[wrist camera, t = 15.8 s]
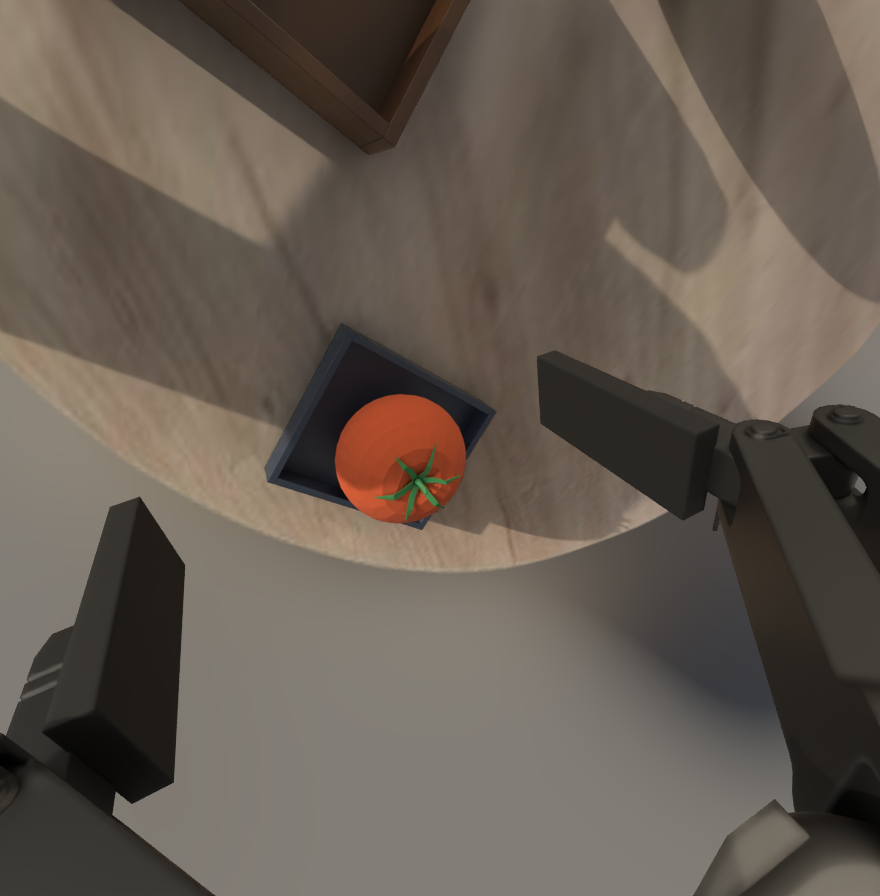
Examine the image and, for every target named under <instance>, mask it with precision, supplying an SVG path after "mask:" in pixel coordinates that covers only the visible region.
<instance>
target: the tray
mask: <svg viewBox="0 0 880 896" xmlns="http://www.w3.org/2000/svg"><path fill="white" fill-rule="evenodd" d="M397 394H404V395H416V396H419V397H423V398H426V399H428V400H430V401H432V402H433V403H435V404H437V405H439V406H440V407H442V408H443V409H444V410H445V411H446V412H447V413H448V414H449V415H450V416H451V417H452V419H453V420H454V421H455V423H456V424H457V426H458V427H459V429H460V432H461V434H462V437H463V440H464V444H465V451H466V460H467V458H468V456H469V455H470V453H471V452H472V450H473V449H474V447H475V445H476V444H477V442H478V441H479V439H480V437H481V436H482V434H483V433H484V431H485V430H486V428H487V426H488V425H489V423H490V422H491V420H492V418H493V417H494V415H495V414H496V411H495V410H494V409H492V408H491V407H490V406H488V405H487V404H486V403H484V402H483V401H481V400H479V399H477V398H475V397H474V396H472V395H470V394H468V393H466V392H465V391H463V390H461V389H459V388H457V387H456V386H454V385H452V384H450V383H448V382H447V381H445V380H443V379H441V378H439V377H438V376H436V375H434V374H432V373H430V372H429V371H427V370H425V369H423V368H421V367H420V366H418V365H416V364H414V363H412V362H411V361H409V360H407V359H405V358H404V357H402V356H400V355H398V354H396V353H395V352H393V351H391V350H389V349H387V348H386V347H384V346H382V345H380V344H378V343H377V342H375V341H373V340H371V339H369V338H368V337H366V336H364V335H362V334H360V333H359V332H357V331H355V330H353V329H351V328H350V327H348V326H346V325H344V324H342V323H341V325H340V327H339V329H338V331H337V333H336V334H335V336H334V338H333V340H332V342H331V344H330V346H329V348H328V350H327V351H326V353H325V355H324V357H323V359H322V361H321V363H320V365H319V366H318V368H317V370H316V372H315V374H314V376H313V378H312V380H311V381H310V383H309V385H308V387H307V389H306V391H305V393H304V395H303V396H302V398H301V400H300V402H299V404H298V406H297V408H296V410H295V412H294V413H293V415H292V417H291V419H290V421H289V423H288V425H287V427H286V428H285V430H284V432H283V434H282V436H281V438H280V440H279V442H278V443H277V445H276V447H275V449H274V451H273V453H272V455H271V457H270V458H269V460H268V462H267V464H266V466H265V472H266V477H267V482H269V483H272V484H276V485H279V486H282V487H285V488H288V489H292V490H295V491H298V492H301V493H305V494H308V495H311V496H314V497H317V498H321V499H324V500H327V501H330V502H333V503H337V504H340V505H343V506H346V507H350V508H353V509H356V510H358V509H357V508H356V507H355V506H354V505H353V504H352V503H351V502H350V501H349V499H348V498H347V496H346V495H345V493H344V492H343V490H342V488H341V486H340V483H339V480H338V477H337V473H336V466H335V455H336V447H337V444H338V441H339V438H340V435H341V432H342V431H343V429H344V427H345V425H346V424H347V422H348V421H349V420H350V419H351V417H352V416H353V415H354V414H355V413H356V412H357V411H359V410H360V409H361V408H362V407H364V406H365V405H366V404H368V403H370V402H372V401H374V400H376V399H379V398H382V397H385V396H389V395H397ZM359 511H360V510H359ZM430 517H431V515H430V516H428V517H426V518H423V519H421V520H418V521H414V522H410V523H401V524H404V525H407V526H411V527H414V528H417V529H420V530H422V529H423V528H424V526H425V525H426V523H427V521H428V520H429V518H430Z"/></svg>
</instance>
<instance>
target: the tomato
mask: <svg viewBox="0 0 880 896" xmlns="http://www.w3.org/2000/svg"><path fill="white" fill-rule="evenodd" d="M465 462H466V451H465V444H464V440H463V437H462V434H461V432H460V429H459V427H458V426H457V424H456V423H455V421H454V420H453V419H452V417H451V416H450V415H449V414H448V413H447V412H446V411H445V410H444V409H443V408H442V407H440V406H439V405H437V404H435V403H433V402H432V401H430V400H428V399H426V398H423V397H419V396H416V395H404V394H397V395H389V396H385V397H382V398H379V399H376V400H374V401H372V402H370V403H368V404H366V405H365V406H364V407H362V408H361V409H360V410H359V411H357V412H356V413H355V414H354V415H353V416H352V417H351V419H350V420H349V421H348V422H347V424H346V425H345V427H344V429H343V431H342V432H341V435H340V438H339V441H338V444H337V447H336V455H335V466H336V473H337V477H338V480H339V483H340V486H341V488H342V490H343V492H344V493H345V495H346V496H347V498H348V499H349V501H350V502H351V503H352V504H353V505H354V506H355V507H356V508H357V509H358V510H360V511H362V512H363V513H365V514H366V515H368V516H370V517H372V518H374V519H377V520H380V521H383V522H390V523H410V522H414V521H418V520H421V519H423V518H426V517H428V516H430V515H432V514H433V513H435V512H437V511H438V510H439V509H440V508H444V507H443V506H444V505H445V504H446V503H447V502H448V501H449V500H450V499H451V498H452V497H453V495H454V493H455V492H456V490H457V489H458V487H459V485H460V483H461V480H462V478H463V474H464V470H465Z"/></svg>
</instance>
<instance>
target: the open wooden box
mask: <svg viewBox="0 0 880 896" xmlns="http://www.w3.org/2000/svg"><path fill="white" fill-rule="evenodd" d="M179 1H180V2H181V3H183V4H184V5H185V6H186V7H188V8H189V9H190V10H191V11H193V12H194V13H195V14H196V15H197V16H199V17H200V18H201V19H202V20H204V21H205V22H206V23H207V24H209V25H210V26H211V27H212V28H213V29H215V30H216V31H217V32H218V33H220V34H221V35H222V36H223V37H224V38H226V39H227V40H228V41H229V42H231V43H232V44H233V45H234V46H236V47H237V48H238V49H239V50H240V51H242V52H243V53H244V54H245V55H247V56H248V57H249V58H250V59H252V60H253V61H254V62H255V63H256V64H258V65H259V66H260V67H261V68H263V69H264V70H265V71H266V72H267V73H269V74H270V75H271V76H272V77H274V78H275V79H276V80H277V81H279V82H280V83H281V84H282V85H283V86H285V87H286V88H287V89H288V90H290V91H291V92H292V93H293V94H294V95H296V96H297V97H298V98H299V99H301V100H302V101H303V102H304V103H306V104H307V105H308V106H309V107H310V108H312V109H313V110H314V111H315V112H317V113H318V114H319V115H320V116H322V117H323V118H324V119H325V120H326V121H328V122H329V123H330V124H331V125H333V126H334V127H335V128H336V129H337V130H339V131H340V132H341V133H342V134H344V135H345V136H346V137H347V138H349V139H350V140H351V141H352V142H353V143H355V144H356V145H357V146H358V147H360V148H361V149H362V150H363V151H365V152H366V153H367V154H368V155H371V154H374V153H377V152H380V151H384V150H387V149H390V148H393V147H395V145H396V143H397V141H398V140H399V138H400V136H401V134H402V132H403V130H404V128H405V126H406V124H407V122H408V120H409V118H410V116H411V114H412V112H413V110H414V108H415V106H416V105H417V103H418V101H419V99H420V97H421V95H422V93H423V91H424V89H425V87H426V85H427V83H428V81H429V79H430V77H431V75H432V73H433V72H434V70H435V68H436V66H437V64H438V62H439V60H440V58H441V56H442V54H443V52H444V50H445V48H446V46H447V44H448V42H449V40H450V38H451V37H452V35H453V33H454V31H455V29H456V27H457V25H458V23H459V21H460V19H461V17H462V15H463V13H464V11H465V9H466V7H467V5H468V3H469V2H470V0H179Z"/></svg>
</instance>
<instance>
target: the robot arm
mask: <svg viewBox="0 0 880 896" xmlns="http://www.w3.org/2000/svg"><path fill="white" fill-rule="evenodd" d="M537 368H538V386H539V404H540V423H541V424H542V425H544V426H545V427H547V428H548V429H549V430H551V431H552V432H554V433H555V434H557V435H558V436H560V437H561V438H563V439H564V440H566V441H567V442H568V443H570V444H571V445H573V446H574V447H576V448H577V449H579V450H580V451H582V452H583V453H585V454H586V455H588V456H589V457H590V458H592V459H593V460H595V461H596V462H598V463H599V464H601V465H602V466H604V467H605V468H607V469H608V470H609V471H611V472H612V473H614V474H615V475H617V476H618V477H620V478H621V479H623V480H624V481H626V482H627V483H629V484H630V485H631V486H633V487H634V488H636V489H637V490H639V491H640V492H642V493H643V494H645V495H646V496H648V497H649V498H650V499H652V500H653V501H655V502H656V503H658V504H659V505H661V506H662V507H664V508H665V509H667V510H668V511H670V512H671V513H672V514H674V515H676V516H677V517H678V518H680V519H681V520H685V519H687V518H689V517H690V516H693V515H694V514H696V513H698V512H700V511H702V510H704V506H705V501H706V496H707V492H709V493H711V494H712V495H714V496H716V497H717V498H718V503H717V507H716V512H715V517H714V522H713V531H717V529H718V525H719V524H720V523H721V525H722V528H723V532H724V535H725V539H726V542H727V545H728V549H729V552H730V555H731V559H732V562H733V566H734V569H735V572H736V576H737V579H738V582H739V586H740V589H741V592H742V596H743V599H744V603H745V606H746V609H747V613H748V616H749V620H750V623H751V626H752V630H753V633H754V636H755V640H756V643H757V647H758V650H759V653H760V657H761V660H762V663H763V666H764V670H765V673H766V677H767V680H768V683H769V687H770V690H771V694H772V697H773V701H774V704H775V707H776V710H777V714H778V717H779V721H780V724H781V728H782V731H783V734H784V738H785V741H786V744H787V748H788V751H789V754H790V759H791V763H792V771H793V776H792V777H793V778H792V795H793V804H794V809H795V812H793V813H787V812H786V811H785V810H784V808H783V807H782V806H781V805H780V804H779V803H778V802H777V801H776V800H775V799H774V800H773V801H772V802H771V803H769V804H768V805H767V806H765V807H764V808H763V809H761V810H760V811H759V812H757V814H755V815H754V816H752V817H751V818H750V819H749V820H747V821H746V822H745V823H743V824H742V825H741V826H739V827H738V828H737V829H736V830H734V831H733V832H732V833H730V834H729V835H728V836H727V837H726V839H725V841H724V842H723V844H722V846H721V848H720V849H719V851H718V853H717V855H716V856H715V858H714V860H713V862H712V864H711V865H710V867H709V869H708V870H707V872H706V874H705V876H704V878H703V880H702V881H701V883H700V885H699V886H698V888H697V890H696V892H695V893H694V895H693V896H880V418H879V417H878V416H876V415H875V414H873V413H870V412H868V411H866V410H864V409H860V408H857V407H855V406H850V405H847V406H845V405H827V406H823V407H819V408H818V409H816V410H815V411H814V412H813V416H812V419H811V422H810V425H808V426H802V427H797V428H792V429H789V428H787V427H785V426H783V425H781V424H779V423H775V422H771V421H767V420H746V421H743V422H740V423H737V424H735V423H733V422H730V421H728V420H726V419H723V418H721V417H719V416H716V415H714V414H712V413H709V412H707V411H705V410H703V409H700V408H698V407H695V408H694V407H693V405H691V404H689V403H686V402H682V401H681V400H679V399H677V398H675V397H672V396H670V395H668V394H664V393H659V392H654V391H649V390H648V391H645V390H643V389H640V388H638V387H636V386H634V385H631V384H629V383H627V382H625V381H622V380H620V379H618V378H616V377H614V376H611V375H609V374H607V373H605V372H602V371H600V370H598V369H596V368H593V367H591V366H589V365H587V364H584V363H582V362H580V361H578V360H575V359H573V358H571V357H569V356H566V355H564V354H562V353H560V352H558V351H555V350H554V351H552V352H549V353H546V354H543V355H540V356H537ZM858 476H859V477H861V478H862V480H863V481H864V483H865V485H866V487H867V488H866V490H865V492H864V493H863V494H862V493H860V492H859V491H858V490H857V489H856V488H855V487H854V486H855V484H856V481H857V479H858ZM184 578H185V564H184V563H183V561H182V560H181V558H180V557H179V555H178V554H177V552H176V551H175V549H174V548H173V546H172V545H171V543H170V542H169V540H168V539H167V537H166V535H165V534H164V532H163V531H162V530H161V528H160V526H159V525H158V523H157V522H156V520H155V519H154V518H153V516H152V514H151V513H150V511H149V510H148V508H147V507H146V505H145V504H144V502H143V501H142V499H141V498H140V497H138V498H135V499H132V500H129V501H126V502H123V503H120V504H118V505H115V506H112V507H110V509H109V512H108V515H107V519H106V522H105V525H104V528H103V532H102V535H101V538H100V542H99V545H98V548H97V552H96V555H95V558H94V561H93V565H92V568H91V571H90V575H89V578H88V581H87V585H86V588H85V591H84V595H83V598H82V601H81V604H80V608H79V611H78V614H77V618H76V621H75V624H74V626H71V627H69V628H66V629H64V630H61V631H59V632H57V633H54V634H52V635H51V637H50V638H49V639H48V641H47V642H46V643H45V645H44V646H43V647H42V649H41V650H40V651H39V652H38V654H37V655H36V657H35V658H34V661H33V664H32V666H31V669H30V672H29V674H28V677H27V681H28V683H26V684H25V685H24V688H23V691H22V694H21V696H20V698H21V701H20V702H18V704H17V707H16V710H15V713H14V715H13V718H12V721H11V723H10V726H9V729H8V732H7V734H6V736H5V735H4V734H2V733H0V896H215V895H214V894H212V893H211V892H210V891H209V890H207V889H206V888H205V887H204V886H202V885H201V884H200V883H198V882H197V881H196V880H195V879H193V878H192V877H191V876H189V875H188V874H187V873H186V872H185V871H183V870H182V869H181V868H179V867H178V866H177V865H176V864H174V863H173V862H172V861H170V860H169V859H168V858H167V857H165V856H164V855H163V854H162V853H160V852H159V851H157V849H155V848H154V847H153V846H152V845H150V844H149V843H148V842H146V841H145V840H144V839H143V838H141V837H140V836H139V835H137V834H136V833H135V832H134V831H132V830H131V829H130V828H129V827H127V826H126V825H125V824H124V823H122V822H121V821H120V820H118V819H117V818H116V817H114V816H113V815H112V813H113V806H114V799H115V793H116V792H117V793H119V794H120V795H121V796H123V797H124V798H125V799H126V800H127V801H129V802H130V803H131V804H133V803H135V802H137V801H139V800H141V799H142V798H144V797H146V796H148V795H150V794H152V793H154V792H156V791H158V790H160V789H162V788H164V787H166V786H168V785H170V784H172V783H173V782H174V768H175V749H176V730H177V729H176V728H177V711H178V710H177V709H178V692H179V673H180V653H181V634H182V616H183V615H182V614H183V597H184Z"/></svg>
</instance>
